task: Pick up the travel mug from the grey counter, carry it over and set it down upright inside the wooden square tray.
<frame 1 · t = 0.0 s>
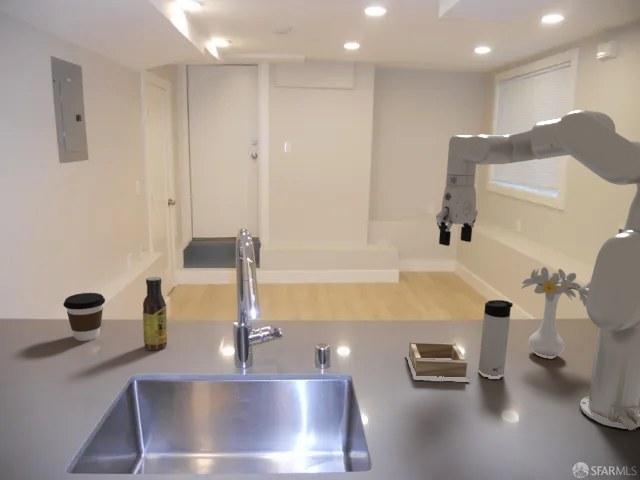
hand: (455, 243, 141), 31 cm above the worktop, tool pointing down, fingers open, 9 cm apart
flower vase: (546, 355, 144), on the worktop
wooden square tray: (435, 369, 133), on the worktop
coffee cup: (87, 337, 148), on the worktop
sauce bottle: (156, 347, 142), on the worktop
travel mug: (491, 375, 131), on the worktop
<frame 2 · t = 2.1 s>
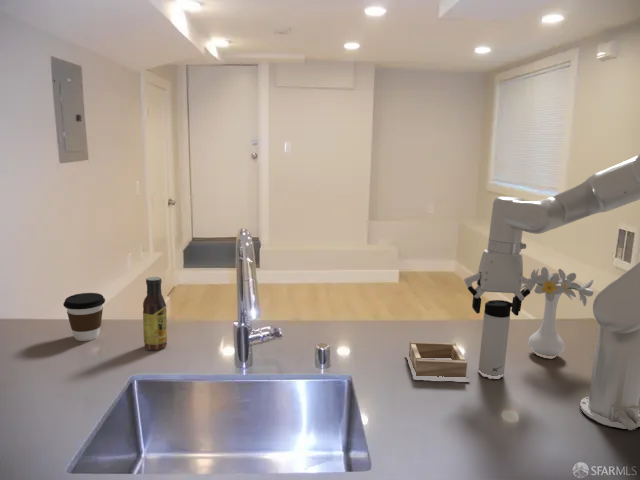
hand: (495, 312, 128), 17 cm above the worktop, tool pointing down, fingers open, 9 cm apart
nothing on the worktop moved.
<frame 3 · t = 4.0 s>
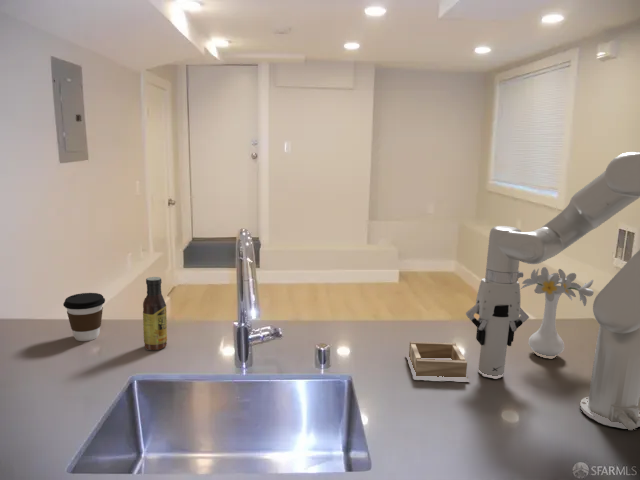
hand: (494, 343, 129), 9 cm above the worktop, tool pointing down, fingers closed on travel mug, 6 cm apart
travel mug: (491, 375, 131), on the worktop, touching gripper
everything else where it was.
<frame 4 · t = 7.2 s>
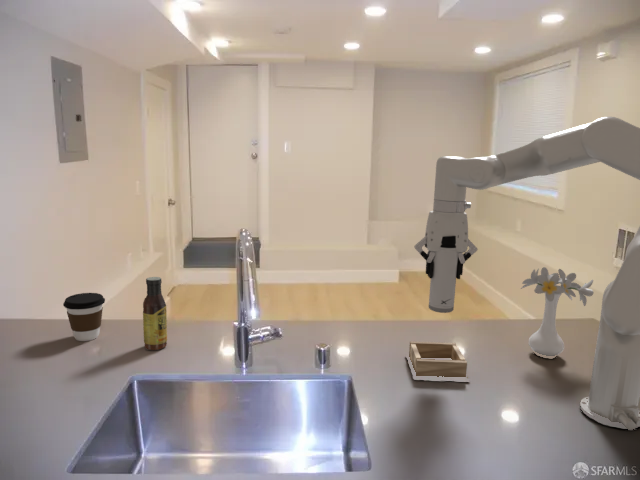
hand: (443, 276, 128), 25 cm above the worktop, tool pointing down, fingers closed on travel mug, 6 cm apart
travel mug: (441, 309, 130), point 16 cm above the worktop, touching gripper
everything else where it was.
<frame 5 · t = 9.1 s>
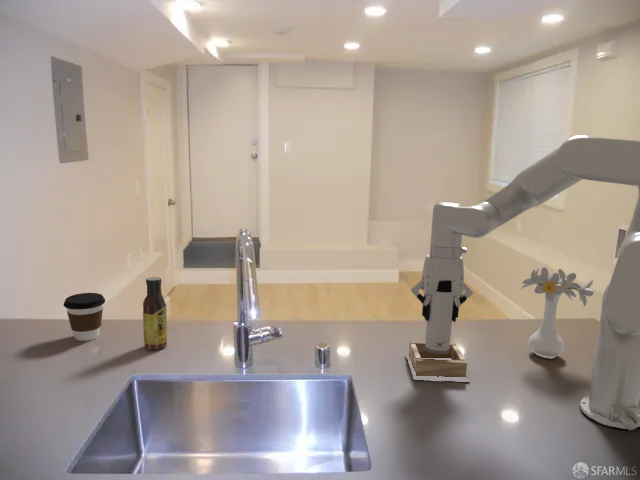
hand: (439, 318, 130), 14 cm above the worktop, tool pointing down, fingers closed on travel mug, 6 cm apart
travel mug: (437, 351, 132), point 5 cm above the worktop, touching gripper
everything else where it was.
when the fingers open (11 cm above the worktop, at t = 10.7 s): travel mug drops 1 cm, resting on wooden square tray.
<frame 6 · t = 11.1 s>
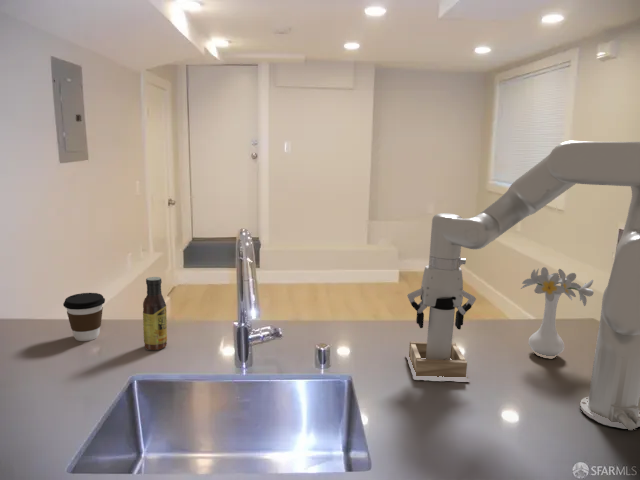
hand: (439, 326, 131), 12 cm above the worktop, tool pointing down, fingers open, 9 cm apart
travel mug: (437, 367, 133), point 1 cm above the worktop, touching wooden square tray
everything else where it was.
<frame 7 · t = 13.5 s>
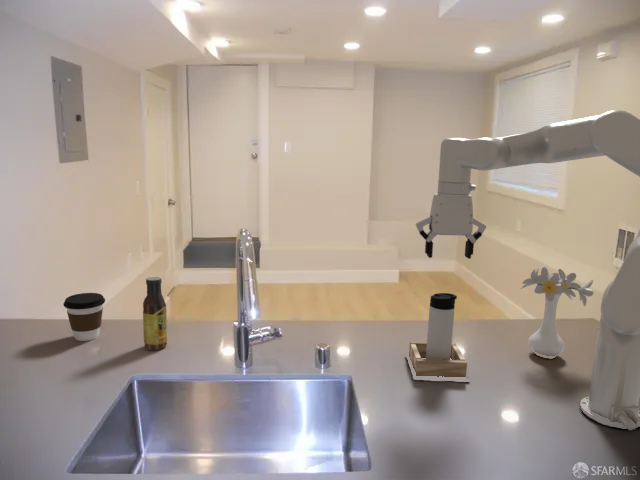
hand: (448, 257, 127), 30 cm above the worktop, tool pointing down, fingers open, 9 cm apart
nothing on the worktop moved.
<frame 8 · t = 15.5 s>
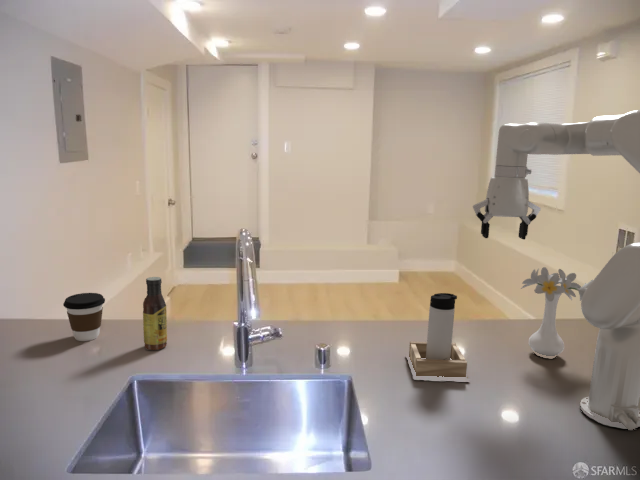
hand: (503, 237, 134), 34 cm above the worktop, tool pointing down, fingers open, 9 cm apart
nothing on the worktop moved.
at the end: travel mug 0.5 cm off-centre on the wooden square tray, point 0.6 cm above the wooden square tray's base; travel mug tilted 0°; the gripper is holding nothing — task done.
